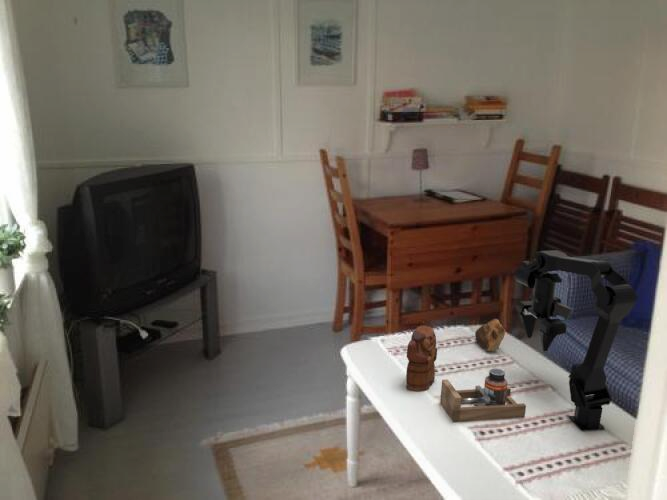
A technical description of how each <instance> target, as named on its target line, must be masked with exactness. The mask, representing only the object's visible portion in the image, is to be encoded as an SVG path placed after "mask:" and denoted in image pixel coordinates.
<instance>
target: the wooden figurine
mask: <svg viewBox="0 0 667 500" xmlns="http://www.w3.org/2000/svg"><path fill="white" fill-rule="evenodd" d="M410 337H411V339H410V340H409V342H408V345H407V348H406V358H407V360H408V363H407V366H406V367H407V368H406V373H405V374H406V377H405V380H406V389H407V390H409V391H416V392H423V391H427V390H429V389H430V387H431V386H432V385H433V384H434V382H433V381H434V380H435V378H436V377H435V375H436V368H435V367H436V365H435V362H436V360H437V357H438V356H437V355H438V348H437V347H436V346H437V336H436V332H435V331H434V329H433V328H432V327H431V326H428V325H420V326H417V327H416V328H415V329H414V331H412V334H411V336H410Z"/></svg>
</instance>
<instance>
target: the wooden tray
mask: <svg viewBox="0 0 667 500" xmlns="http://www.w3.org/2000/svg"><path fill="white" fill-rule="evenodd" d="M482 389H483V390H484V388H482ZM511 391H512V389H511V387H509V386H507V393H506V403H505V405H491V406H477V405H475V406H465V407H464V406H463V407H462V404H463V405H464V404H475V403H474V402H463V403H462V399H465V398H474V396H475V388H473V389H460V390H459V389H458V390H457V389H456V388H455V387H454V386H453V384H452V383H451V381H450V379H441V389H440V400H439V403H440V405H441V406H442V408H443V409H444V411H445V412H446V414H447V415H448V416H449V419H450V420H451V421H452V423H461V422H476V421H493V420H505V419H507V420H508V419H521V418H522V419H523V418H525V417H526V409H527V405H526V404H525V403H522V402H521V403H517V402H516V400H514V399H513V397H512V396H511Z"/></svg>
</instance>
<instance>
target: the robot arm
mask: <svg viewBox="0 0 667 500" xmlns="http://www.w3.org/2000/svg"><path fill="white" fill-rule="evenodd" d="M557 271H561V272H566V273H571V274H577V275H581V276H582V275H583V276H587V277H589V280H590V284H591V285H590V286H591V287H590V288H591V291H592V293H593V294H594V296H595V298H596V302H595V307H596V309H597V313H598V318H597V321H596V324H595V327H594V330H593V332H592V335H591V338H590V341H589V344H588V347H587V350H586V353H585V356H584V359H583V361H582V362H581V363H580V362H579V363H574V364H572V366H571V370H570V373H569V375H568V378H569V381H568V385H569V395H570V401H571V403H573V405H574V406H575V408H574V409H575V410H574V415H569V417H568V418H569V420H570V421H571V422H572V423H573V424H574V425H575V426H576V427H578V429H579V430H581V431H583V432H586V431H587V432H588V431H602V430H603V431H604V430H605V426H604V425H603V424H602V423H601V421H602V420H601V419H602V414H603V408H604V407H602V406H606V405H607V406H609V405H611V403H612V400H613V398H612V395H611V394H610V391H609V389H608V387H607V384H606V382H607V374H606V371H605V369H604V368H605V365H606V362H607V360H608V357H609V354H610V351H611V348H612V346H613V343H614V340H615V337H616V334H617V331H618V329H619V327H620V326H619V325H620V323H621V322H622V321H623V319H624V318H626V316H629V314H630V313H631V312H632V311H633V308H634V307H635V305H636V303H637V299H638V295H637V293H636V290H635V289H634V287H632V285H631V284H630V283H629V281H628V279H627V278H626V277H624V276H623V275H622V274H620V273H619V271H616V270H615V269H614V268H613V266H612V264H611V263H610V262H609V261H606V260H594V259H587V258H581V257H580V258H579V257H573V256H569V255H567V254H566V253H565V252H562V251H560V250H556V249H555V250H553V249H552V250H544V251H543V250H541V251H537V252H535V254H534V257H533V258H532V259H530V261H529V260H525V261H524V260H523V261H521V265H519V266H518V267H517V268H516V270H515V271H514V276H513V277H514V280H515V281H516V282H518V283H519V284H521V285H524V286H526V287H528V288H529V289H533V292H532V294H531V293H530V294H529V299H530V300H522V301H521V300H520V301H518V303H516V308H515V310H516V312H517V314H518V316H519V318H520V321H521V323H522V326H523V328H524V329H523V330H524V332H525V334H526V337H527V338H528V339H531V338H532V336H533V334H534V329H535V324H536V321H537V320H539V321H541V322H540V324H539V325H540V329H539V336H540V341H541V342H540V343H541V347H542V351H543V352H547V351H548V350H549V349H550V347H551V345H552V343H553V342H554V339H556V337H557V336H559V335H563V334H567V331H568V325H567V324H566V323H565V322H564V321H562V320H561V319H559V318H557V316H559V317H561V318H564V319H565V320H568V319H569V317H570V315H571V313H572V311H573V309H572V308H571V307H569V306H568V305H566V304H565V303H562V299H561V298H559V297H558V296H556V295H555V293H556V288H557V284H560V283H563V279H562V278H561V277H560V276H559V274H558V273H557ZM550 272H556V273H550ZM602 277H603V278H604V279H605V280H606V281H607V282H608V283H610V285H604V283H603V282H602Z"/></svg>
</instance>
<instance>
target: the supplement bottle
mask: <svg viewBox="0 0 667 500" xmlns="http://www.w3.org/2000/svg"><path fill="white" fill-rule="evenodd" d="M505 374H506V372H505V371H504V370H503V369H501V368H491V369H490V370H489V373H488V376H486V377H485V379H484V384H483V385H484V386H483V389H484V391H485V392H486V394H487V395H488V396H489V397H490V404H489V406H491V405H506V404H507V402H506V393H507V387H508V380H507V379H506V378H505Z"/></svg>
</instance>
